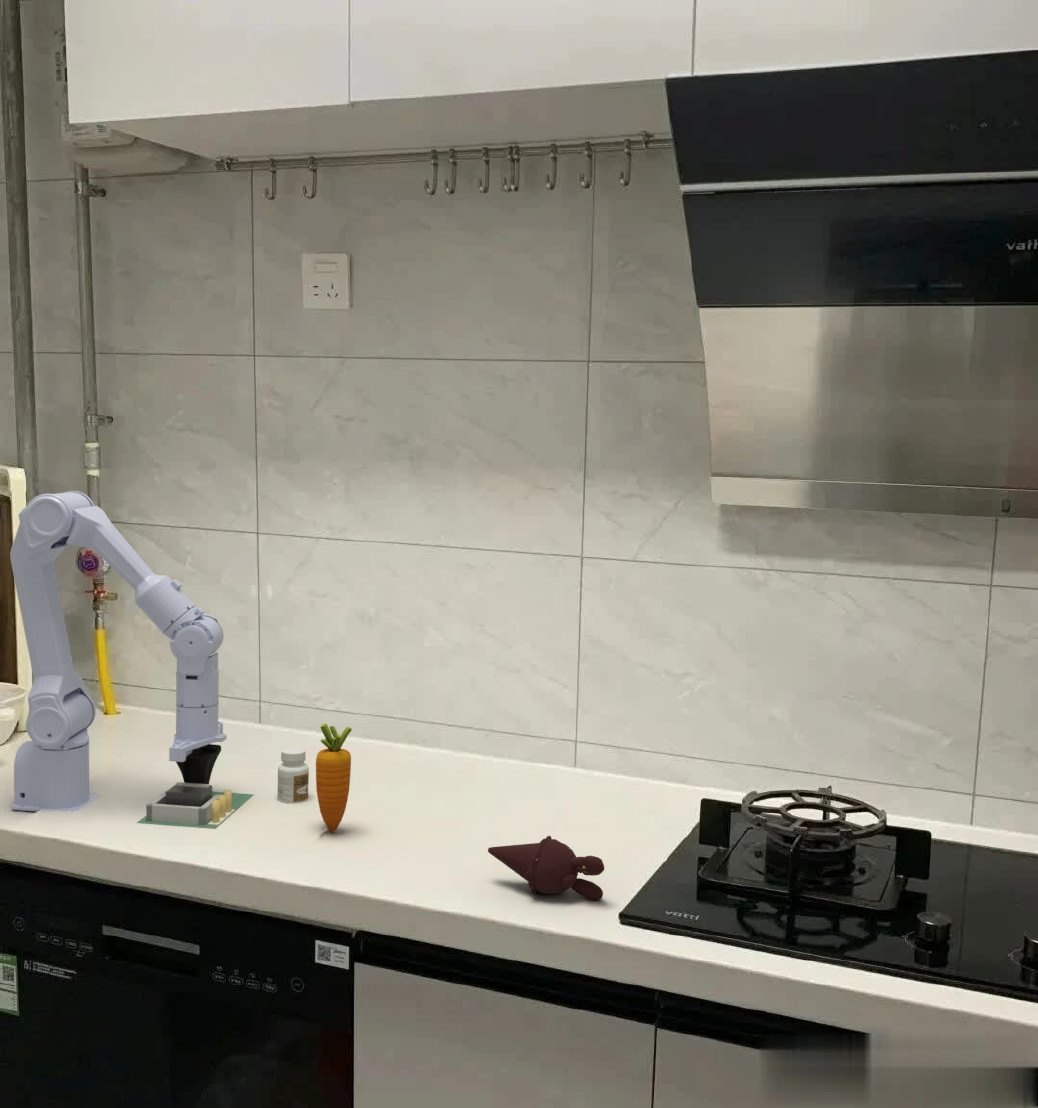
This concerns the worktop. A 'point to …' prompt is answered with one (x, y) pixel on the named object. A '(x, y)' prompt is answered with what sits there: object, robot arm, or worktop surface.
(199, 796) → the plug block
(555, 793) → the worktop surface
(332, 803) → the carrot
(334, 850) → the worktop surface
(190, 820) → the header board
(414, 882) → the worktop surface
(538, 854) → the icecream
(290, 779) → the pill bottle
